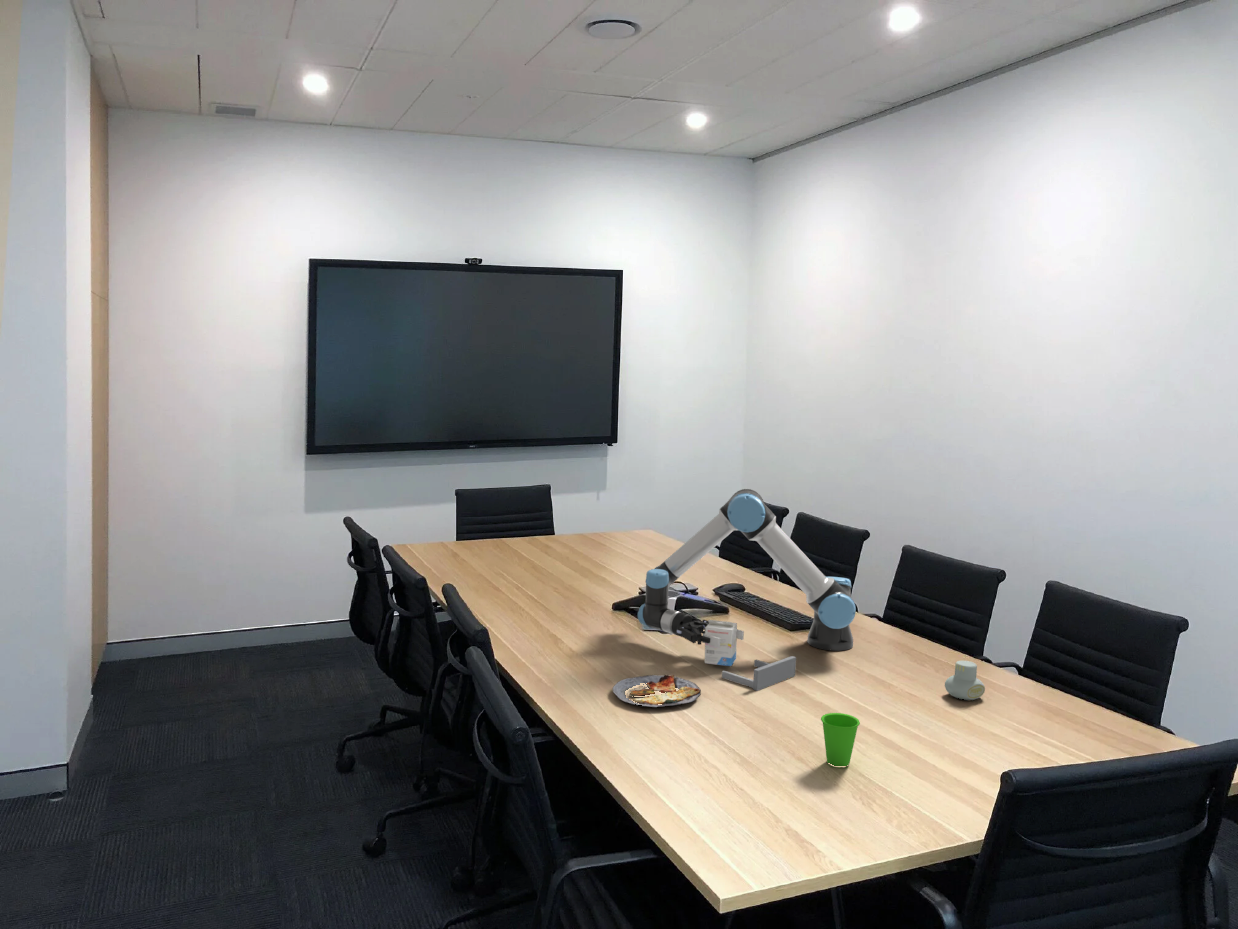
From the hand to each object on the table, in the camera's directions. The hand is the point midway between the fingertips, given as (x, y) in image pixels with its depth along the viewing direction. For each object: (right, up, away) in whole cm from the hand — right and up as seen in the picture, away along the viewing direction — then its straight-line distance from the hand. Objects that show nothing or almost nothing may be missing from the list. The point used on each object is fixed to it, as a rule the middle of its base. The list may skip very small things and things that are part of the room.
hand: (731, 639), depth 295 cm
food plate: (-24, -12, -23) cm, 36 cm away
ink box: (-3, -8, +4) cm, 9 cm away
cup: (+18, -18, -66) cm, 71 cm away
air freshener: (+65, -13, -19) cm, 69 cm away
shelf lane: (+7, -10, -6) cm, 14 cm away
